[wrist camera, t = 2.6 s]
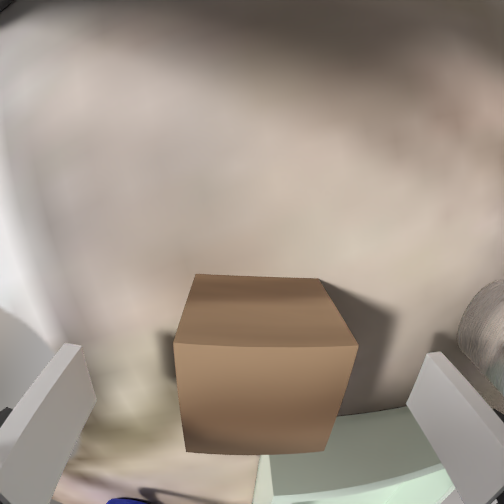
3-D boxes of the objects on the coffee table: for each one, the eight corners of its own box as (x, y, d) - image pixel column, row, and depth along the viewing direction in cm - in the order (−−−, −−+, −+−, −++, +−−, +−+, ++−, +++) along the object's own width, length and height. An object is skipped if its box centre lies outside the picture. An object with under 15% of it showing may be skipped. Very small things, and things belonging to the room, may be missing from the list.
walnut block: (196, 273, 12) (173, 343, 8) (318, 277, 13) (359, 345, 8) (198, 369, 14) (186, 452, 9) (302, 371, 14) (323, 451, 9)
